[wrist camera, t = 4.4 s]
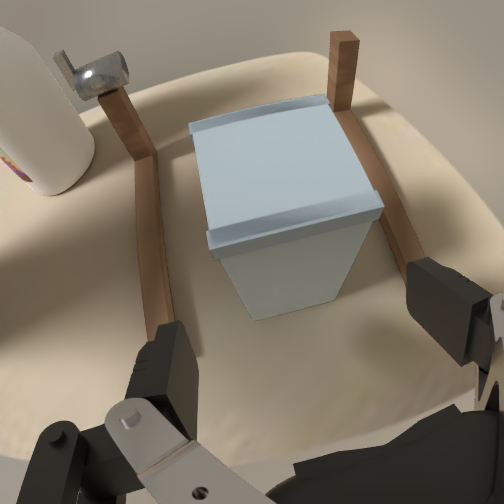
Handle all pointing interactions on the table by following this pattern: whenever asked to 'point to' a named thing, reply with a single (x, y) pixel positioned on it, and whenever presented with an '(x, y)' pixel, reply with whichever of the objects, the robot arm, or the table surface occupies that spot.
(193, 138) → the lidded storage bin
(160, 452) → the robot arm
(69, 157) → the milk bottle
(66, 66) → the metal cylinder with tab
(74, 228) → the table surface
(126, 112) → the bay
